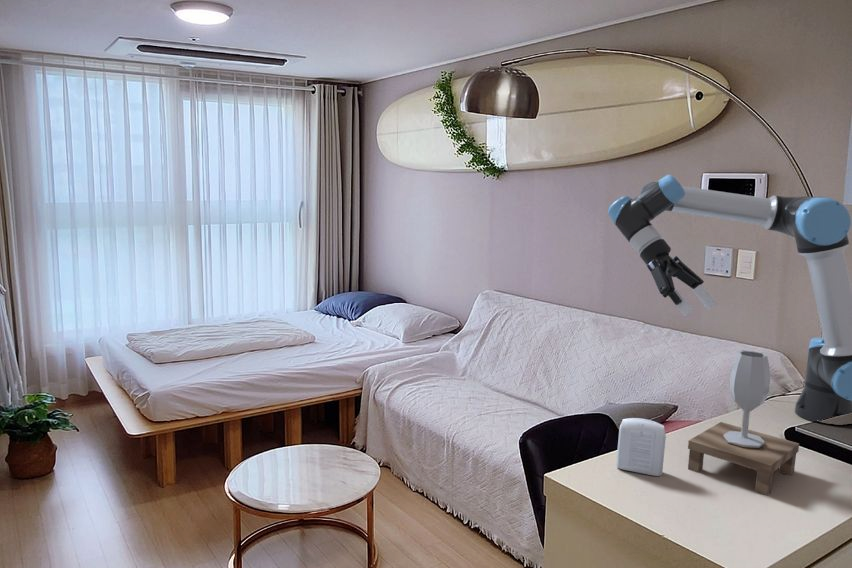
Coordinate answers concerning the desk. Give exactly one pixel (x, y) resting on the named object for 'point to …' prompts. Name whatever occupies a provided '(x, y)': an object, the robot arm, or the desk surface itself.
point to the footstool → (744, 454)
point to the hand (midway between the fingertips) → (701, 310)
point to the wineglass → (748, 393)
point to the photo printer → (641, 446)
